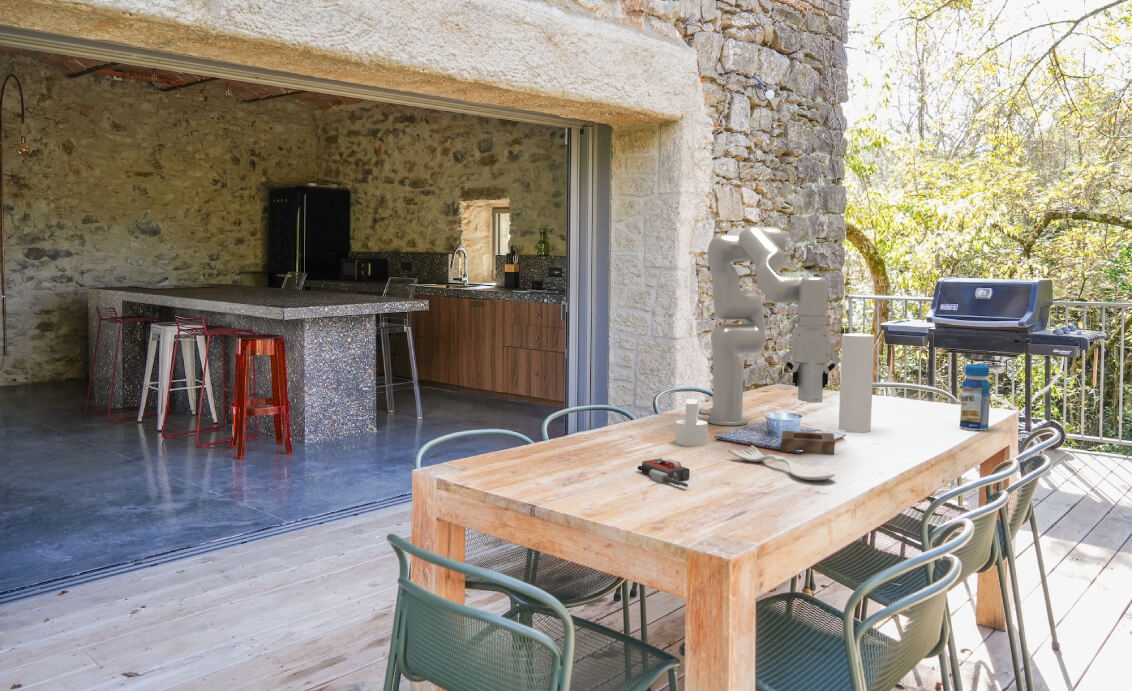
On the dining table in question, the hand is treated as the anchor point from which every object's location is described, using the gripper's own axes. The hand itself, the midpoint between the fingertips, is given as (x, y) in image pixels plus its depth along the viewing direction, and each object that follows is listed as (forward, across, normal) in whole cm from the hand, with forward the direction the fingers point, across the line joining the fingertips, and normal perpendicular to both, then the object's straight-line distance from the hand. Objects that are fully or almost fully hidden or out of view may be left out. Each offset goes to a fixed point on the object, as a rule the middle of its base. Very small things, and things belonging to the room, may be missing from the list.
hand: (810, 386), depth 244 cm
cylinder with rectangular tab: (+18, -32, -2) cm, 37 cm away
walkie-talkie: (+18, -32, -45) cm, 58 cm away
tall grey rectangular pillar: (+18, +14, +33) cm, 40 cm away
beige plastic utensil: (+18, -6, -28) cm, 34 cm away
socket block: (+17, 0, 0) cm, 17 cm away
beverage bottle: (+18, +50, +46) cm, 70 cm away
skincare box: (+4, 0, 0) cm, 4 cm away
